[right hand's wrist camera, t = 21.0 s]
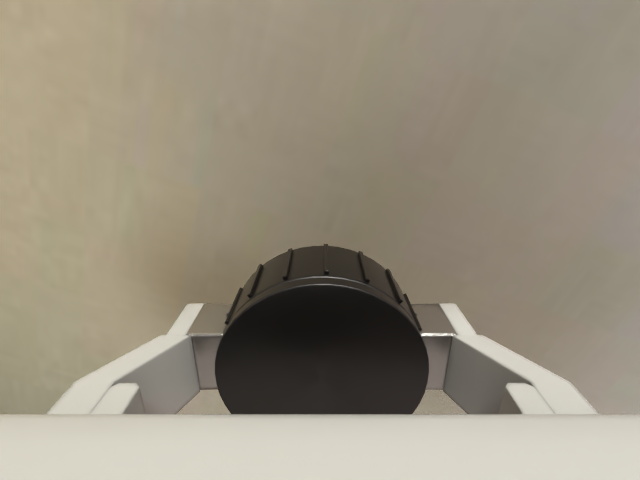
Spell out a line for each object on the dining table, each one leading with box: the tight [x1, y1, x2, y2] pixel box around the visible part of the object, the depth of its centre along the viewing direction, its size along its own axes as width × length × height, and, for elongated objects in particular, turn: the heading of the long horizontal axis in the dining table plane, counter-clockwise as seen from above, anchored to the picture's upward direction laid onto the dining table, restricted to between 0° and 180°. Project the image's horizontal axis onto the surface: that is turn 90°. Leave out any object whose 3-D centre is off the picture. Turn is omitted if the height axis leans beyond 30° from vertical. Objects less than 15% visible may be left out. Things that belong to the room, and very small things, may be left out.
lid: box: [215, 244, 429, 414], centre depth 9 cm, size 5×5×2 cm
